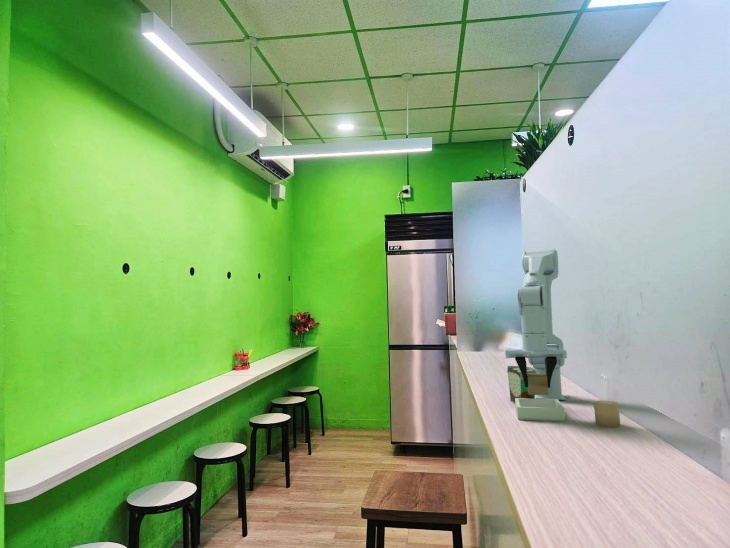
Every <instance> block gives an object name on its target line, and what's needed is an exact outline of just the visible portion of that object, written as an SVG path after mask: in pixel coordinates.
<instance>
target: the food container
mask: <svg viewBox="0 0 730 548" xmlns="http://www.w3.org/2000/svg"><path fill="white" fill-rule="evenodd" d="M506 372H507V378H508V386H509V387H508V389H509V399H510V400H509V401H510V402H511V403H513V404H514V405H515V398H529V399H536V398H535V395H529V394H528V391H527V387H525V384H524V379H523V376H522V373H521V371H520V368H519V366H518V365H507V371H506ZM527 374H537V373H536V371H535V369H534V368H533V367H531V366H527Z"/></svg>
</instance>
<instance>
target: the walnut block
mask: <svg viewBox="0 0 730 548" xmlns="http://www.w3.org/2000/svg"><path fill="white" fill-rule="evenodd" d="M527 379H528V387H527V391H528V394H529V395H548V382H547V376H546V375H545V374H527Z"/></svg>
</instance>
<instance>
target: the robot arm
mask: <svg viewBox="0 0 730 548" xmlns="http://www.w3.org/2000/svg"><path fill="white" fill-rule="evenodd" d="M521 265H522V266H521V267H522V269H523V272H524V274H525V275H524V277H523V281H522V286H521V287H520V288H518V289H517V292H516V293H517V294H516V296H517V297H516V299H517V305H518V311H519V316H520V319H521V320H520V321H521V337H522V349H505V350H504V355H505V359H514V360H515V362H516V364H517V366H519V368H520V371H521V373H522V376H523V379H524V384H525V387H528V379H527V367H528V366H527V362H528V364H529V365H530V366H532V368H534V369H535V371H536V373H537V374H545V375H546V376H547V382H548V395H535V399H558V400H559V401H566V397H565V396H564V395H563V393H562V391H563V390H562V379H561V367H564V365H565V362H566V360H565V359H567V358H568V356H567V355H568V353H567V350H566V349H565V348H564V342H563V340H562V339H561V338H560V337H559V336H557V335H555V333H553V331H554V329H553V313H552V312H553V309H552V291H551V289H552V283H553V281H555V280H556V279H557V278H558V277H559V256H558V251H557V250H556V249H555V248H554V249H548V250H538V251H537V250H536V251H523V253H522V254H521ZM527 359H528V361H527Z"/></svg>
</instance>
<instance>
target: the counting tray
mask: <svg viewBox="0 0 730 548" xmlns="http://www.w3.org/2000/svg"><path fill="white" fill-rule="evenodd" d="M514 405H515V413H516V417H517V420H518V421H540V422H541V421H543V422H545V421H546V422H566V414H565V407H564V405H562V404H561V402H560V400H558V399H536V398H535V399H529V398H515V404H514Z"/></svg>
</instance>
